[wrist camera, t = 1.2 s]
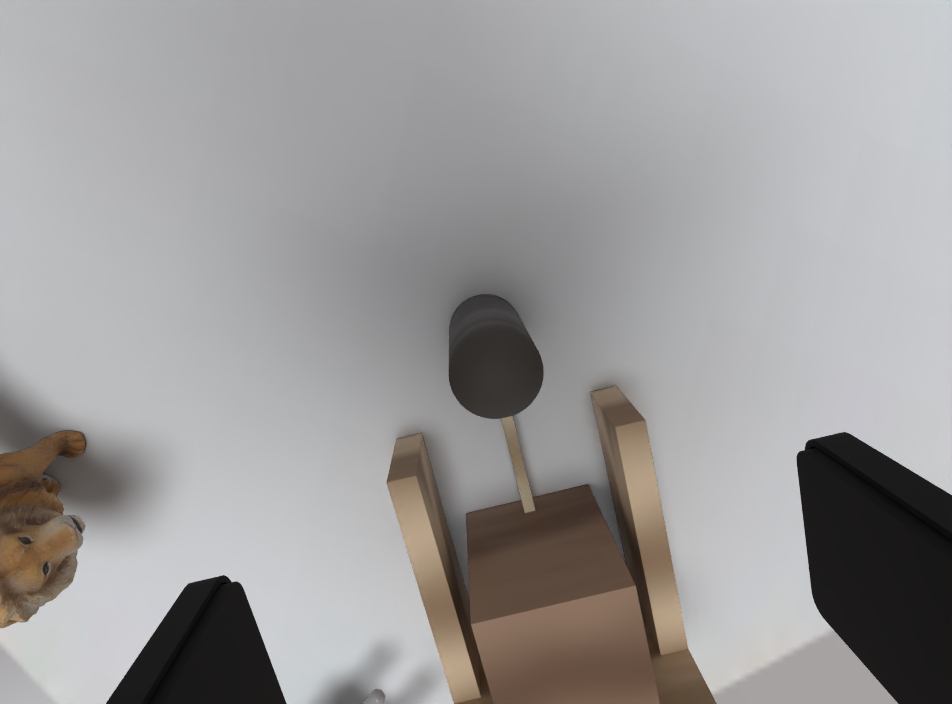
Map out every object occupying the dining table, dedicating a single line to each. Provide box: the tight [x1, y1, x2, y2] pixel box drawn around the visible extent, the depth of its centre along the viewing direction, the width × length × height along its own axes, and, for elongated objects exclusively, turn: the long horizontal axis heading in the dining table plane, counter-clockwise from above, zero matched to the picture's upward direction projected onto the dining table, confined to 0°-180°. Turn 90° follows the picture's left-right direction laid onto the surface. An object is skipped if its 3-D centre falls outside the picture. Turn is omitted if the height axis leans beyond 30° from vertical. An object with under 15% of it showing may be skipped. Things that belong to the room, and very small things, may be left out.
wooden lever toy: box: [449, 295, 660, 704], centre depth 26 cm, size 16×6×8 cm, turn 14°
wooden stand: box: [387, 386, 716, 704], centre depth 26 cm, size 12×10×10 cm
